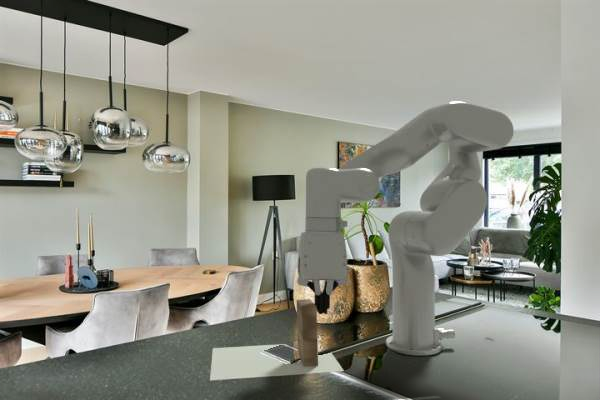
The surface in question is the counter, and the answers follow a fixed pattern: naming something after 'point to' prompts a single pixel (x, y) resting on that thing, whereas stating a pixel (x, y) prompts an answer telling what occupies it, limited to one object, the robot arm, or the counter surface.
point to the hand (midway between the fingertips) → (321, 312)
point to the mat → (262, 364)
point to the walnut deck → (307, 332)
